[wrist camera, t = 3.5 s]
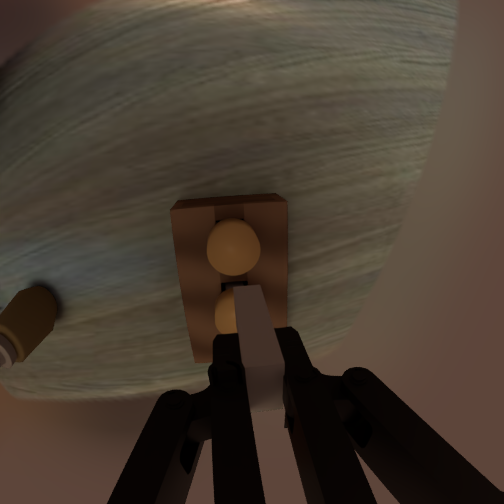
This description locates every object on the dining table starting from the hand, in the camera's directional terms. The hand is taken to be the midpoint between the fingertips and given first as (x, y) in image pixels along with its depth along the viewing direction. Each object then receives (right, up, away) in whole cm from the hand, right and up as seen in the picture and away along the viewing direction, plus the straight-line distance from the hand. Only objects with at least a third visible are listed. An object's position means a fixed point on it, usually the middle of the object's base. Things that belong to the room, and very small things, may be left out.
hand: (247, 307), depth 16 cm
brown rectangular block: (-2, 0, +21) cm, 21 cm away
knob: (-2, +6, +16) cm, 17 cm away
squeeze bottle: (-33, -5, +20) cm, 39 cm away
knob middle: (-2, -1, +18) cm, 18 cm away
